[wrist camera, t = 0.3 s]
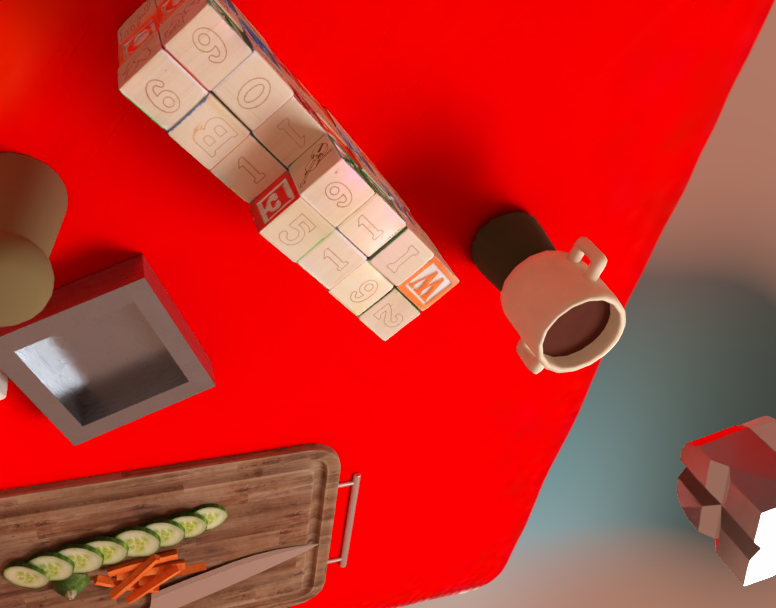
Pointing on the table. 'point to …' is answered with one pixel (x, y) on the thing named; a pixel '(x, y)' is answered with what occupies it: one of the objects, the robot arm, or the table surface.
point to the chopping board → (177, 534)
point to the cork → (27, 234)
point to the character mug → (549, 294)
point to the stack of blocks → (280, 157)
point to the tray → (3, 384)
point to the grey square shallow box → (105, 352)
